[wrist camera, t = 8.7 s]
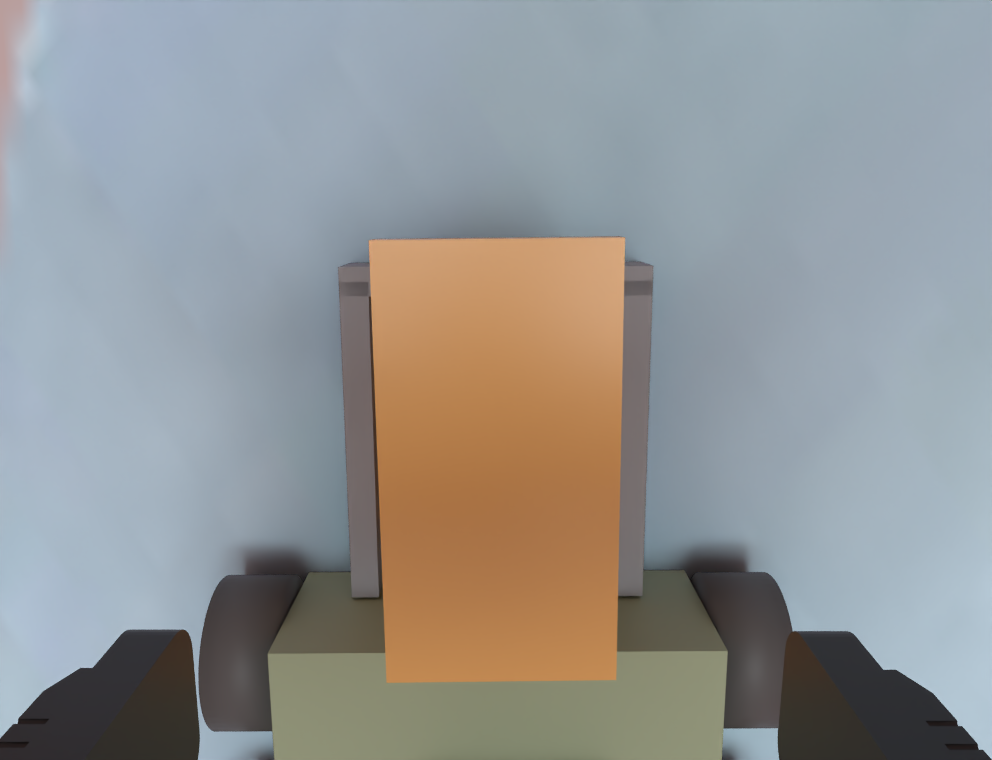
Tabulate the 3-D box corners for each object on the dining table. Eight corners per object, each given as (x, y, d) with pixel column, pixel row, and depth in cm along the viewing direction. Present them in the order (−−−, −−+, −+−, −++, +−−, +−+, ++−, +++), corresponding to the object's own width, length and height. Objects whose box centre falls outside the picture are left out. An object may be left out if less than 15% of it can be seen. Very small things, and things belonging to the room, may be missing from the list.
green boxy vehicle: (222, 263, 25) (70, 291, 16) (768, 261, 25) (922, 287, 16) (263, 862, 29) (161, 1151, 20) (732, 859, 29) (838, 1147, 20)
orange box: (408, 231, 24) (368, 240, 16) (581, 229, 24) (625, 237, 16) (418, 540, 26) (386, 682, 18) (578, 538, 26) (616, 679, 18)
